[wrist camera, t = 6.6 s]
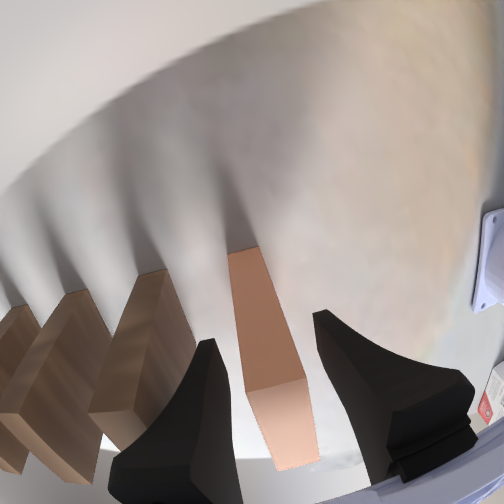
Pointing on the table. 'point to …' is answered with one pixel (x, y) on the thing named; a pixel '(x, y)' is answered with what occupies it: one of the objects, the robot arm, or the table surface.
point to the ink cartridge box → (493, 396)
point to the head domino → (271, 364)
